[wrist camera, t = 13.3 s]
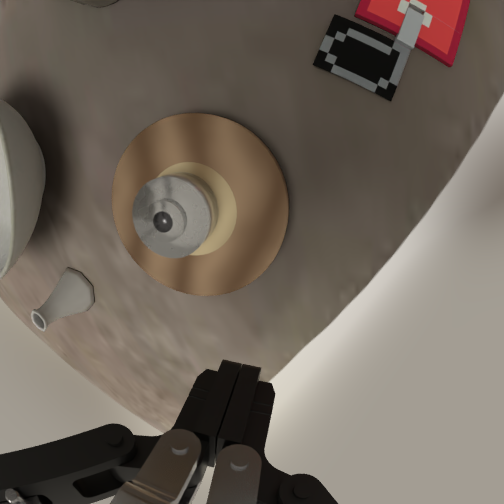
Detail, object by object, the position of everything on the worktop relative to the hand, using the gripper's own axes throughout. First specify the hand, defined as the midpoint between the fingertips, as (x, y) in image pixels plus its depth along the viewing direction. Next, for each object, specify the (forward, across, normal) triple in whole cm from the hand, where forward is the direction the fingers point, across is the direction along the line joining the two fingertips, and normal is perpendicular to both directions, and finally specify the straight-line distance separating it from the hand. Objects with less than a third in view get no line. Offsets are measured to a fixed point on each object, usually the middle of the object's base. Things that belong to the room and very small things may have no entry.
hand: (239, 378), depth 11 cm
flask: (+23, +30, +16) cm, 41 cm away
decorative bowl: (+23, +41, -2) cm, 47 cm away
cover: (+20, +11, 0) cm, 23 cm away
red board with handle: (+24, -10, -29) cm, 39 cm away
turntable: (+23, +10, 0) cm, 25 cm away
